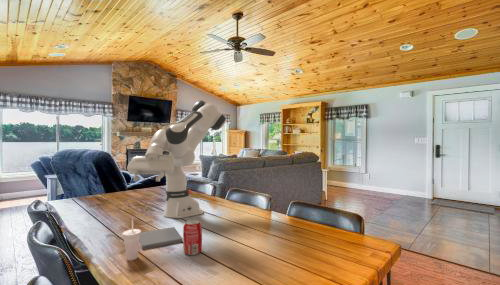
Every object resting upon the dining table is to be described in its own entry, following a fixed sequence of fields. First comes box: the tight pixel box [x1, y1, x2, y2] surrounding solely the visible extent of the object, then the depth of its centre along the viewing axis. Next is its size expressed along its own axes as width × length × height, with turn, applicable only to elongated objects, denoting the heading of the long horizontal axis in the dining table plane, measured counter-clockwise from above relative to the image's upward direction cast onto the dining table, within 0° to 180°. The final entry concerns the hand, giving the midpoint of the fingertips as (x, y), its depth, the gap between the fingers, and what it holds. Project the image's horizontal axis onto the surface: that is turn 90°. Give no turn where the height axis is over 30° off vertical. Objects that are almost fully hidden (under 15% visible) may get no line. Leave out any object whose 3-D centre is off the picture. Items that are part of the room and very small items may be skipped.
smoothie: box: [121, 219, 142, 261], centre depth 95 cm, size 6×6×14 cm
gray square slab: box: [139, 226, 183, 250], centre depth 113 cm, size 16×16×2 cm
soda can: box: [182, 218, 203, 256], centre depth 100 cm, size 7×7×12 cm
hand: (146, 180), depth 111 cm, fingers open, 8 cm apart
